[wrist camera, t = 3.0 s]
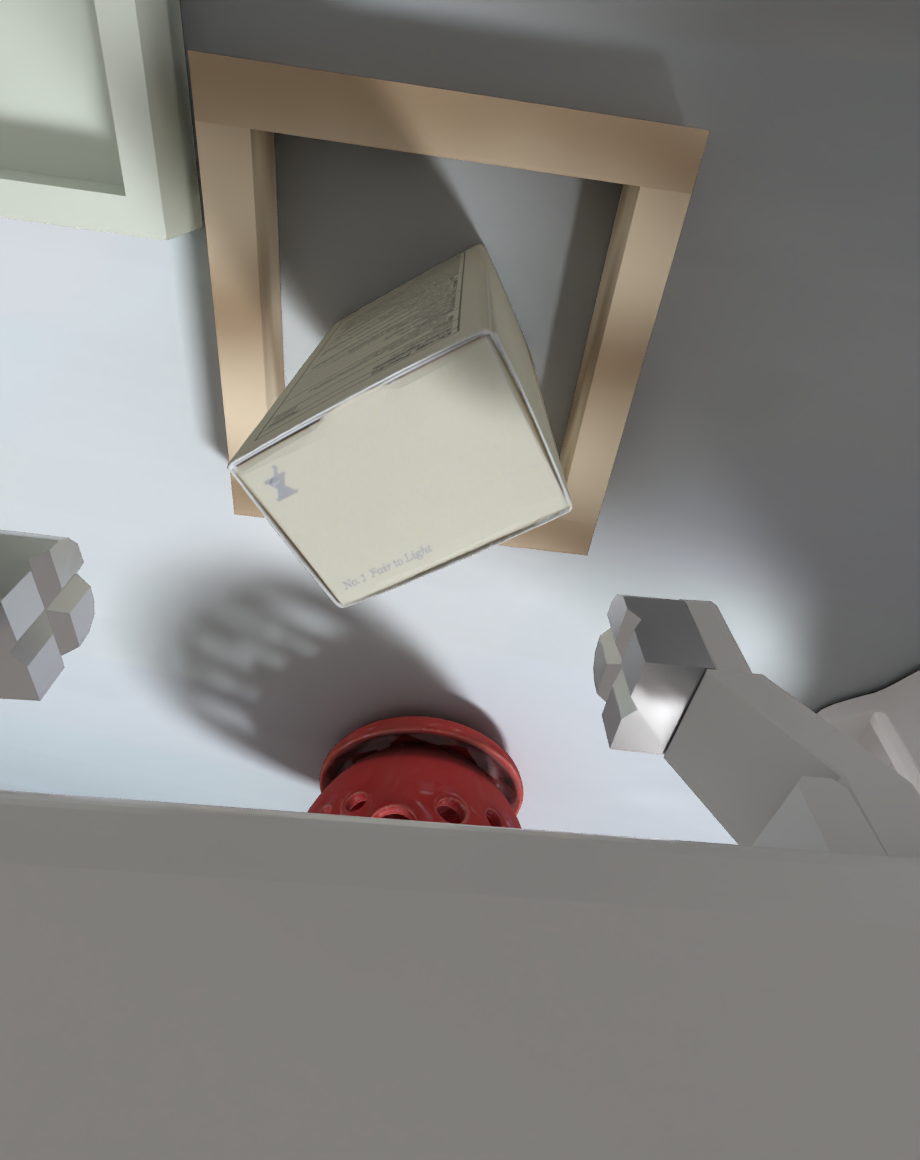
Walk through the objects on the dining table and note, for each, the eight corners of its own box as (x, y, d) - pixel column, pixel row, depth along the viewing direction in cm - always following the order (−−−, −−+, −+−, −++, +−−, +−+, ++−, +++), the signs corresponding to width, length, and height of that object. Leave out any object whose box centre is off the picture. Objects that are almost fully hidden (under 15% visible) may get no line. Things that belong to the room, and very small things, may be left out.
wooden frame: (579, 523, 27) (587, 555, 25) (253, 484, 27) (234, 514, 25) (685, 129, 19) (710, 130, 17) (219, 57, 18) (187, 50, 16)
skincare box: (390, 424, 25) (333, 620, 15) (327, 318, 23) (212, 468, 13) (538, 351, 23) (582, 520, 13) (485, 229, 21) (491, 323, 11)
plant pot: (327, 669, 33) (263, 898, 23) (562, 723, 35) (594, 954, 25) (293, 811, 40) (234, 1029, 31) (489, 848, 42) (492, 1064, 33)
